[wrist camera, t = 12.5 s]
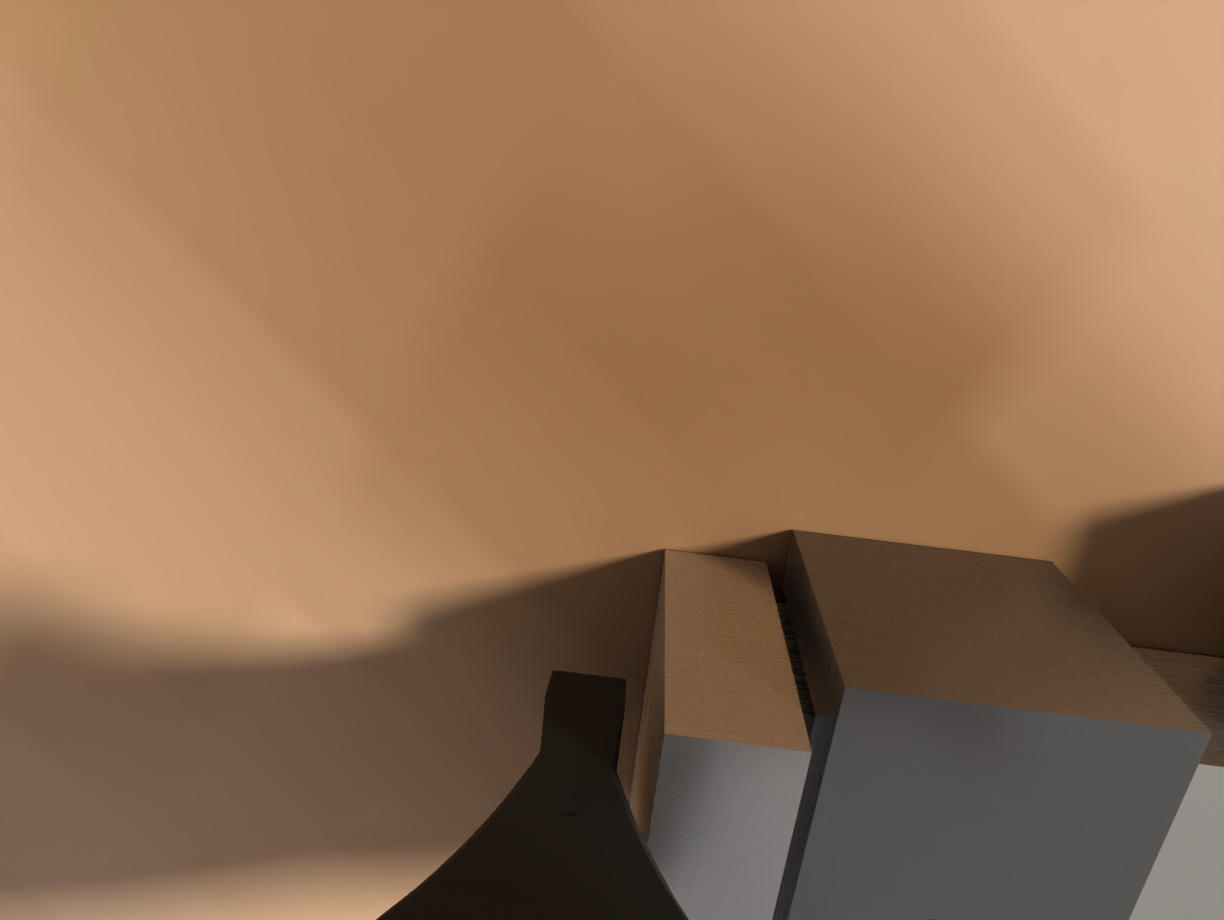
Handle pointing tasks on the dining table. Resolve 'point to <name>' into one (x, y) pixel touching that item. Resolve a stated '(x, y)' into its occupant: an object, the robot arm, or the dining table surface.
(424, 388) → the dining table surface
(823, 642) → the block
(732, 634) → the pin
